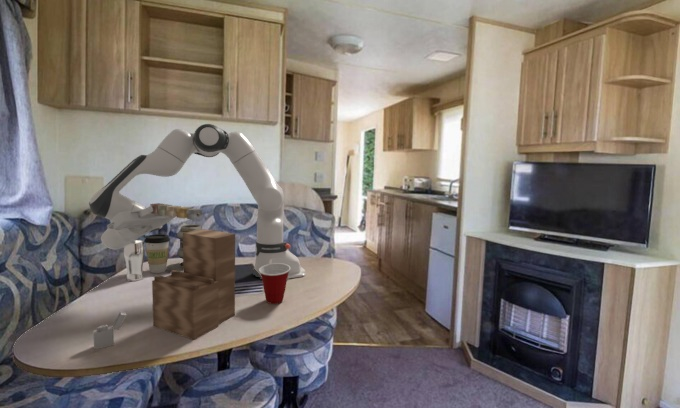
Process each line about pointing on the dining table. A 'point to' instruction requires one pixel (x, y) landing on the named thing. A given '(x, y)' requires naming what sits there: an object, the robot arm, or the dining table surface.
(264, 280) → the plastic cup
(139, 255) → the beer glass
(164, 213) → the bead bar
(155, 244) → the coffee cup
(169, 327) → the walnut display stand
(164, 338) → the dining table surface
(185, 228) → the apothecary jar
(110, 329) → the lighter
